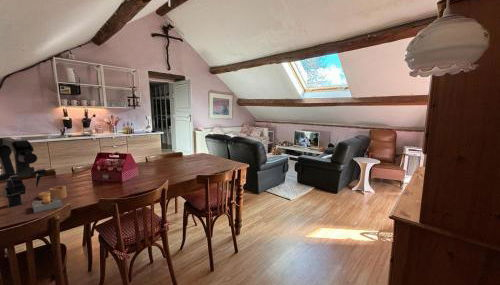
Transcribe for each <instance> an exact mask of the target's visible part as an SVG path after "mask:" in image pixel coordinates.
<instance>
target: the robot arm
mask: <svg viewBox="0 0 500 285" xmlns="http://www.w3.org/2000/svg"><path fill="white" fill-rule="evenodd" d="M33 152H34V147H33V145H32V144H31V142H30V141H28V140H27V139H21V140H20V139H19V140H18V139H15V138H12V137H9V136H7V137H5V136H4V137H3V136H2V137H0V167H1V170H2V172H3V173H0V181H3V183H4V182H5V184H4V185H3V190H2V193H1V196H2V198H4V199H7V208H13V207H17V206H22V205H24V202H23V200H22V195H25V194H26V185H25V184H24V182H23V179H20V178H25V177H26V178H27V177H30V176H33V175H35V187H36V188H37V187H38V185H39V183H40V180H41V178H42V177H44V176H45V175H47V169H45V168H37V169H36V168H35V167H34V166H31V164H34V163H36V162H37V161H38V156H37V155H36V154H35V153H33ZM12 153H13V156H14V158H13V159H14V165H15V168H14V166H13V163H12V159H11V155H12ZM35 169H36V170H35Z"/></svg>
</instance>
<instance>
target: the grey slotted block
mask: <svg viewBox="0 0 500 285" xmlns="http://www.w3.org/2000/svg"><path fill="white" fill-rule="evenodd" d="M62 207H63V203H62V199H60V198H59V197H55V198H51V199H50V203H45V204H43V199H41V200H34V201H32V209H33V213H34V214H37V213H40V212H44V211H49V210H50V211H51V210H53V209H57V208H58V209H59V208H62Z"/></svg>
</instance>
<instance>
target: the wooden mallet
mask: <svg viewBox="0 0 500 285" xmlns="http://www.w3.org/2000/svg"><path fill="white" fill-rule="evenodd" d="M44 193H50V199H51V198H55V197H59V198H60V200H62V199H65V198H67V197H68V196H67V187H66V185H57V186H54V187H50V188H49V190H48V191H43V192H39V193H38V198H39V199H41V200H43V197H42V194H44Z"/></svg>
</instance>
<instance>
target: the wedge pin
mask: <svg viewBox="0 0 500 285" xmlns="http://www.w3.org/2000/svg"><path fill="white" fill-rule="evenodd" d="M42 197H43V199H42V200H43V204H45V203H50V193H44V194H42Z"/></svg>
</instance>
